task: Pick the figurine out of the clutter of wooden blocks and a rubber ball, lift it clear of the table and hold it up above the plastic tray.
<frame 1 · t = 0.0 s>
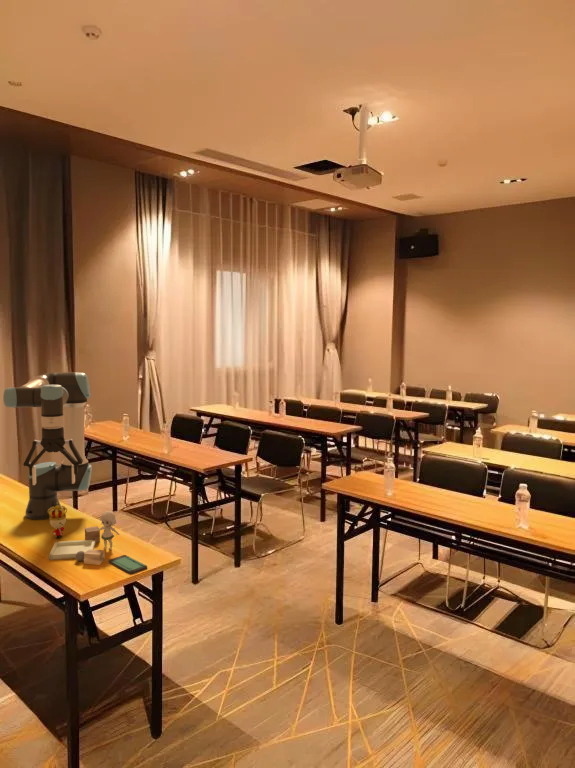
hand: (54, 483, 212), 28 cm above the table, fingers open, 13 cm apart
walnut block: (92, 541, 230), on the table
tray: (73, 551, 219), on the table
toy: (58, 537, 233), on the table
figurine: (108, 548, 223), on the table
grey ball: (80, 560, 211), on the table
smartphone: (127, 566, 208), on the table
maple block: (94, 562, 210), on the table
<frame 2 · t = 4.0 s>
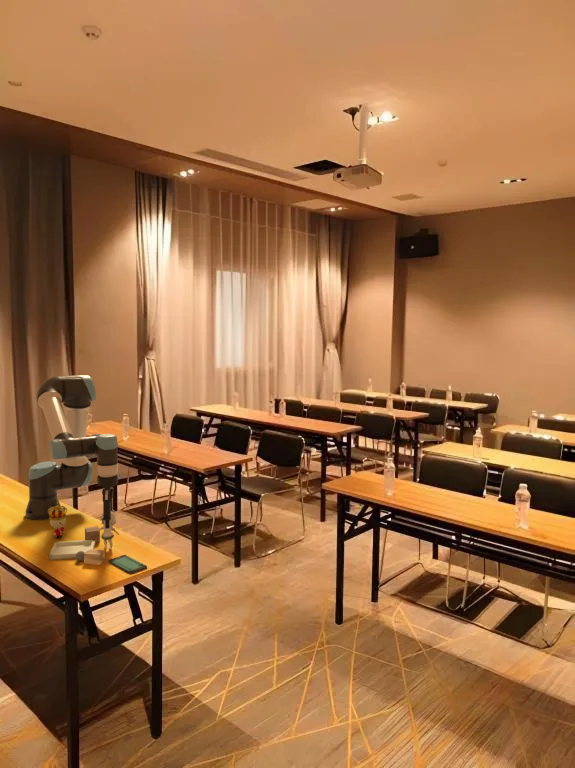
hand: (108, 532, 222), 6 cm above the table, fingers closed on figurine, 6 cm apart
figurine: (108, 548, 223), on the table, touching gripper
everything else where it was.
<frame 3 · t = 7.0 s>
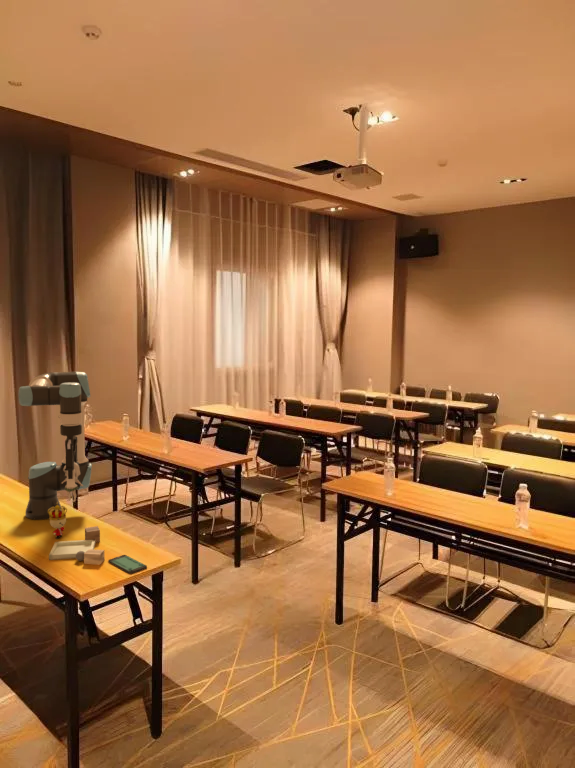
hand: (72, 484, 216), 27 cm above the table, fingers closed on figurine, 6 cm apart
figurine: (72, 501, 217), point 20 cm above the table, touching gripper
everything else where it was.
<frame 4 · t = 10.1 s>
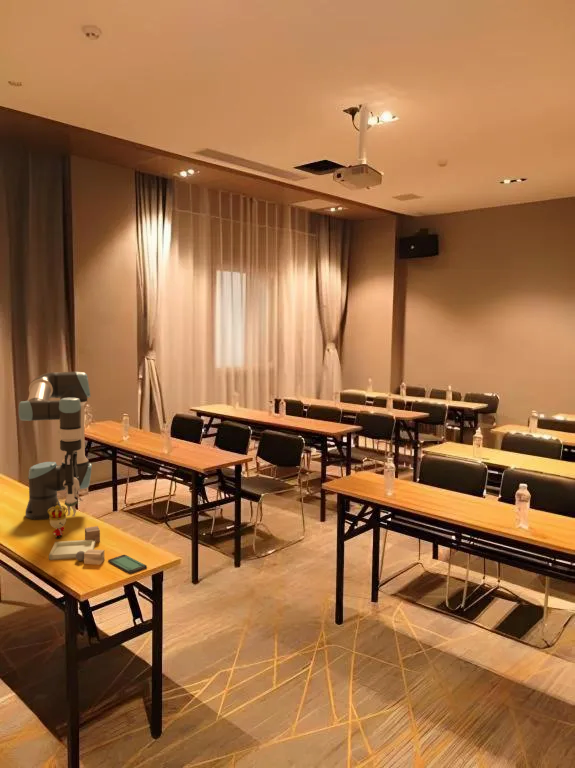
hand: (71, 498, 217), 21 cm above the table, fingers closed on figurine, 6 cm apart
figurine: (72, 515, 218), point 14 cm above the table, touching gripper
everything else where it was.
at the end: the gripper is holding figurine; figurine point 14.2 cm above the table; figurine 0.0 cm from the tray (horizontally) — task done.
